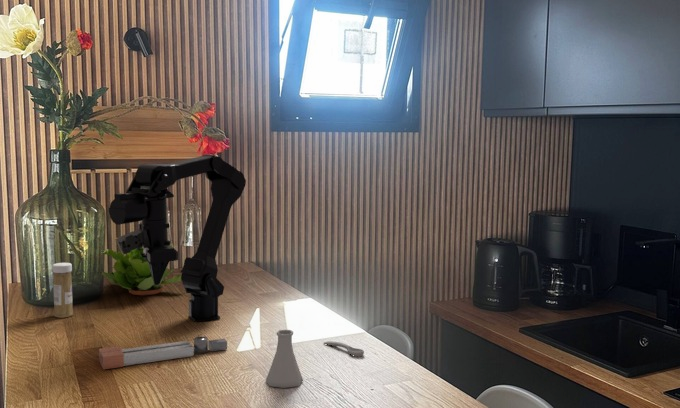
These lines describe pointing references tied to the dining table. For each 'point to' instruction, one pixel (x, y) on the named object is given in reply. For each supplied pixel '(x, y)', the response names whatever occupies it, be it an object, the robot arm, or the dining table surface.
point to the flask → (284, 363)
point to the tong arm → (199, 347)
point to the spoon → (350, 350)
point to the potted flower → (135, 273)
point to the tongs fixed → (154, 354)
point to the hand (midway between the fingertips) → (156, 284)
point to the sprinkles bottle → (62, 289)
